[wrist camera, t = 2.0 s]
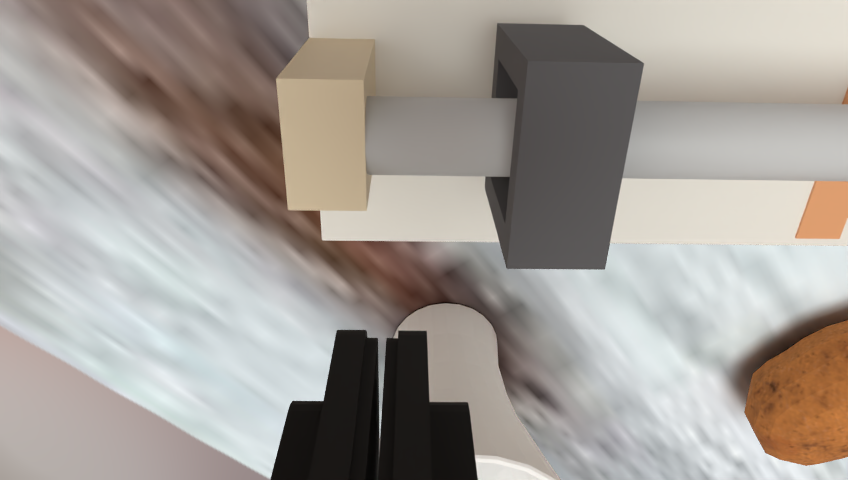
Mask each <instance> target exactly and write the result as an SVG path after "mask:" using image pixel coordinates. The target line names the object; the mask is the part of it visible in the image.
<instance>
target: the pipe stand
mask: <svg viewBox="0 0 848 480" xmlns="http://www.w3.org/2000/svg"><path fill="white" fill-rule="evenodd" d="M307 12H308V28H309V39H308V40H307V41H306V42H305V44H304V45H303V46H302V47H301V49H300V50H299V51H298V52H297V53H296V55H295V56H294V57H293V58H292V60H291V61H290V62H289V63H288V65H287V66H286V67H285V68H284V69H283V71H282V72H281V73H280V74H279V76H278V77H277V78H276V83H277V94H278V105H279V115H280V126H281V137H282V148H283V159H284V170H285V181H286V192H287V203H288V210H320V216H321V232H322V240H338V241H434V242H499V238H498V235H497V231H496V227H495V224H494V220H493V217H492V213H491V209H490V206H489V202H488V198H487V195H486V191H485V176H486V177H510V168H511V158H512V148H513V137H514V127H515V117H516V106H517V99H512V98H492V85H493V72H494V58H495V45H496V32H497V23H516V24H563V25H584V26H586V27H588V28H589V29H591V30H592V31H594V32H595V33H597V34H599V35H600V36H602V37H603V38H605V39H607V40H608V41H610V42H611V43H613V44H614V45H616V46H618V47H619V48H621V49H622V50H624V51H625V52H627V53H629V54H630V55H632V56H633V57H635V58H637V59H638V60H640V61H641V62H643V63H644V67H643V72H642V77H641V83H640V88H639V93H638V98H637V104H636V109H635V114H634V119H633V124H632V130H631V135H630V140H629V145H628V151H627V156H626V161H625V166H624V172H623V177H622V182H621V187H620V193H619V198H618V203H617V208H616V213H615V219H614V224H613V229H612V234H611V240H610V243H626V244H722V245H818V246H848V0H307Z"/></svg>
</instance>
